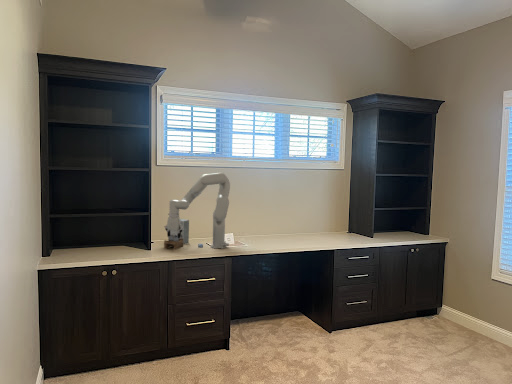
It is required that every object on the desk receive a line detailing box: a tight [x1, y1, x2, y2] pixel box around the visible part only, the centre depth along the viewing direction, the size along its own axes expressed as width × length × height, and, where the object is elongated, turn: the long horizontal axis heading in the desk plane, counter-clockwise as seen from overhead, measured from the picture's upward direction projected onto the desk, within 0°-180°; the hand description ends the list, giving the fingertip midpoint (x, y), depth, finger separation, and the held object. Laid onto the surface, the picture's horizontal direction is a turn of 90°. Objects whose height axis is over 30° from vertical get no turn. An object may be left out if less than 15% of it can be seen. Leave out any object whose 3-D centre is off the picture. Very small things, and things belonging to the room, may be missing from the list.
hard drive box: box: [170, 218, 190, 246], centre depth 318 cm, size 16×8×20 cm, turn 62°
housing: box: [167, 234, 180, 242], centre depth 301 cm, size 8×6×6 cm
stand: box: [163, 239, 184, 250], centre depth 302 cm, size 10×12×6 cm
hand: (173, 237), depth 301 cm, fingers open, 8 cm apart
